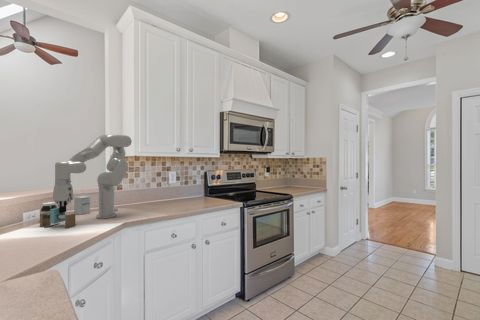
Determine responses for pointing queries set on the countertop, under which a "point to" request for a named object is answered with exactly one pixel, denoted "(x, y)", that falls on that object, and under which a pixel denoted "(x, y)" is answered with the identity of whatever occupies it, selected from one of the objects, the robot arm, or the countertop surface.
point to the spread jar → (48, 207)
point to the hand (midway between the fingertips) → (62, 212)
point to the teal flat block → (55, 216)
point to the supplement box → (82, 205)
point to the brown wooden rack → (46, 218)
